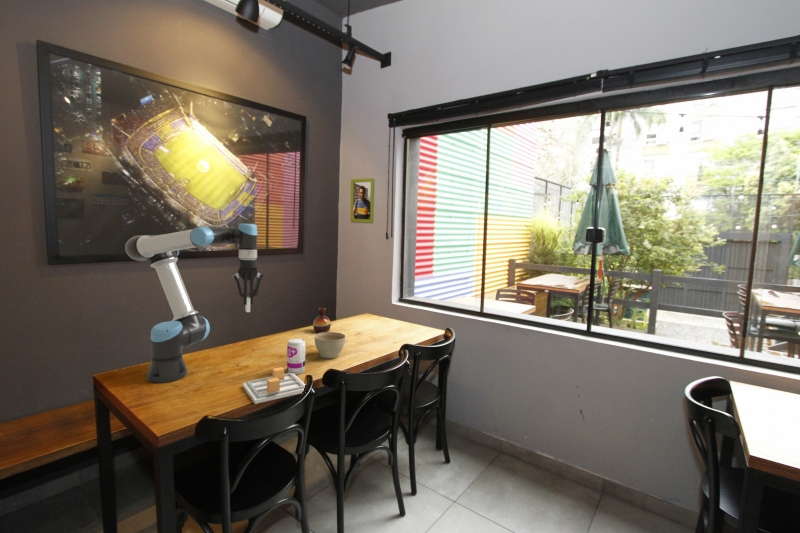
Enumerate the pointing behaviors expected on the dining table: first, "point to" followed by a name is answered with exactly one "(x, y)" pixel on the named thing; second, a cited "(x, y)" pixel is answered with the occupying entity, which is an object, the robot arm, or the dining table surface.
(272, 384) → the tab
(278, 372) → the orange block
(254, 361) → the dining table surface
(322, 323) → the vase
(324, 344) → the planter bowl
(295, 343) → the supplement can
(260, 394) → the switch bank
